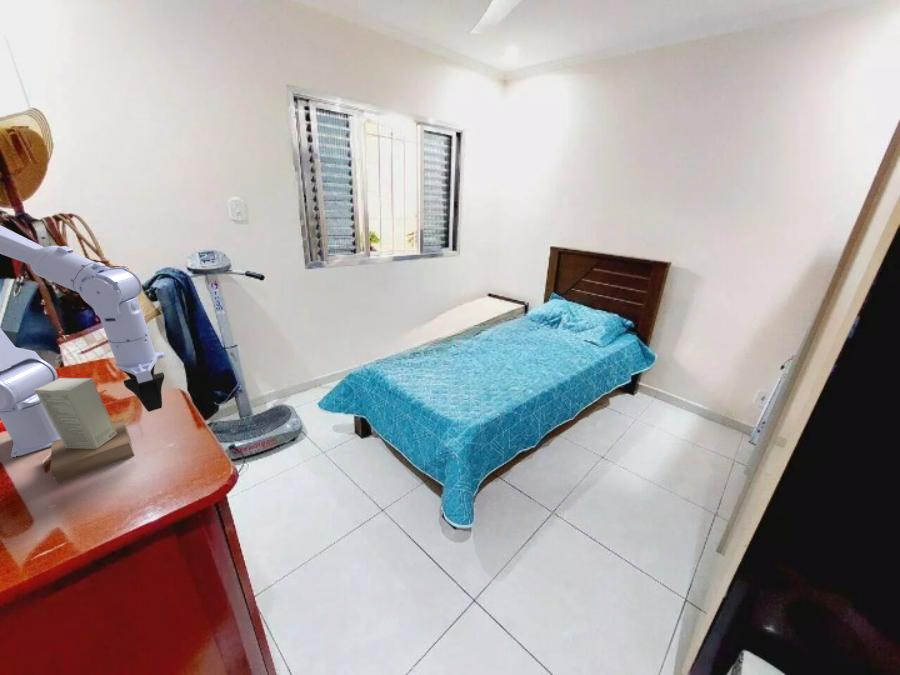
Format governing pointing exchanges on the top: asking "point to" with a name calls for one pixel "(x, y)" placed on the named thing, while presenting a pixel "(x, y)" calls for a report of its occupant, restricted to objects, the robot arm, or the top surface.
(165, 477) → the top surface
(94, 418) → the skincare box
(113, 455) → the block
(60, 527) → the top surface
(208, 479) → the top surface
